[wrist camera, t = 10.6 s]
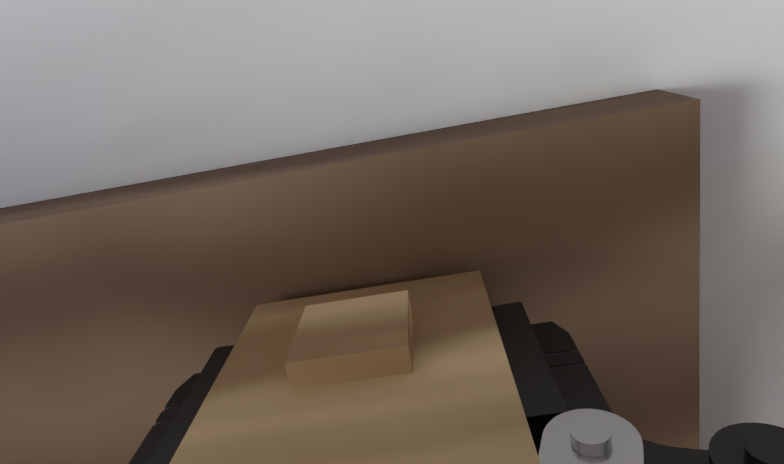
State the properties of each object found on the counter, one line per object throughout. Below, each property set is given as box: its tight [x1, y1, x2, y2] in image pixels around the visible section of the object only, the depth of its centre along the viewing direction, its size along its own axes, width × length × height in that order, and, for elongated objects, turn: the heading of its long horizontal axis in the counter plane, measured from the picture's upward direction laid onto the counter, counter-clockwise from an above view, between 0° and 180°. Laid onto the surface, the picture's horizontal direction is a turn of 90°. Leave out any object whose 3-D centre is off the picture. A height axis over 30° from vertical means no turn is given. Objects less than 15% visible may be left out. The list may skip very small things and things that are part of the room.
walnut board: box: [0, 90, 700, 464], centre depth 16 cm, size 16×24×2 cm, turn 100°
